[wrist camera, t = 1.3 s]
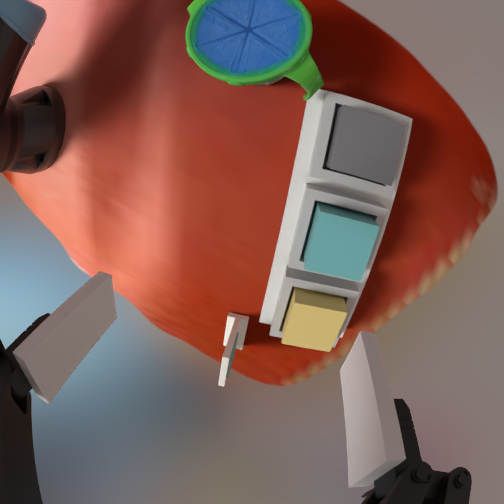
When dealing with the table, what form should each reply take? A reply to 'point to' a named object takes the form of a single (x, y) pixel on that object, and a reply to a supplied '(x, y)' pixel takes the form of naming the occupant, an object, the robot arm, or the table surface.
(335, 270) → the teal button
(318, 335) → the mustard button
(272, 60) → the snack cup
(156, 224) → the table surface
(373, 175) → the charcoal button
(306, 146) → the board
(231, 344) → the sign
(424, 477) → the robot arm
